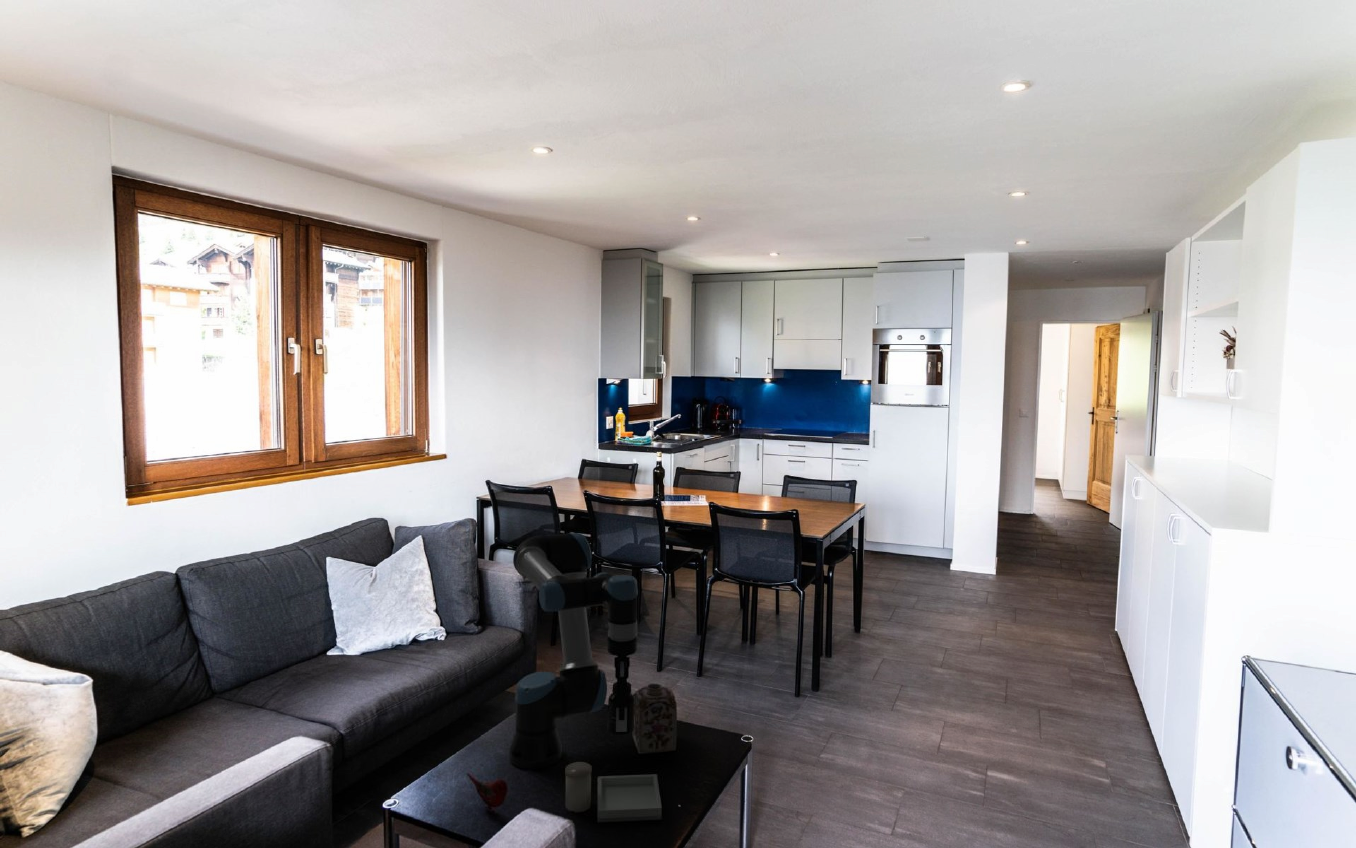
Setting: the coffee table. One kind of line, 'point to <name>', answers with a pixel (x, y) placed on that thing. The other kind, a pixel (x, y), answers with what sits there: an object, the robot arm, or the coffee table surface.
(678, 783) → the coffee table surface
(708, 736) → the coffee table surface
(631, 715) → the supplement bottle
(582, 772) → the cream canister
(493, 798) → the decorative bird figurine
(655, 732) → the decorative jar
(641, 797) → the sage tray
